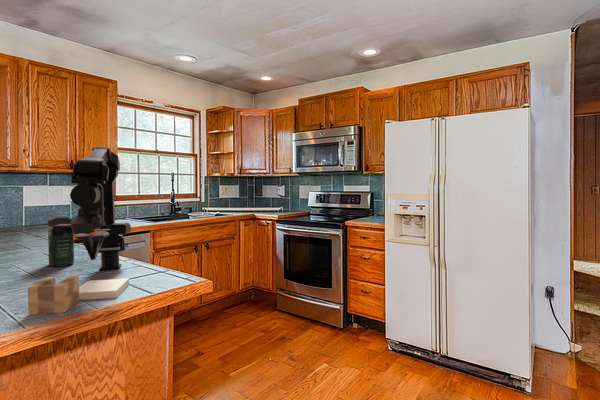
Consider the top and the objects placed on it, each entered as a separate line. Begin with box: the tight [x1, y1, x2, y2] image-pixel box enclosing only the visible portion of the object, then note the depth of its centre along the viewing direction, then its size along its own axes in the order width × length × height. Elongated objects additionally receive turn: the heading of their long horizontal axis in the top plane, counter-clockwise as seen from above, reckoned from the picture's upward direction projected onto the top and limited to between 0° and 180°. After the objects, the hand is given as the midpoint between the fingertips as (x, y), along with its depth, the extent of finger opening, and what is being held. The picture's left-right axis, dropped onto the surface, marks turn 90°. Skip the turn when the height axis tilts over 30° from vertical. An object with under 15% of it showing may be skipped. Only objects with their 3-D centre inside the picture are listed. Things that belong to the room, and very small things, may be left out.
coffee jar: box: [47, 215, 75, 267], centre depth 131 cm, size 10×8×19 cm
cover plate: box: [79, 278, 130, 301], centre depth 97 cm, size 12×2×11 cm
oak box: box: [27, 275, 80, 316], centre depth 85 cm, size 8×7×6 cm
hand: (93, 259), depth 97 cm, fingers closed
